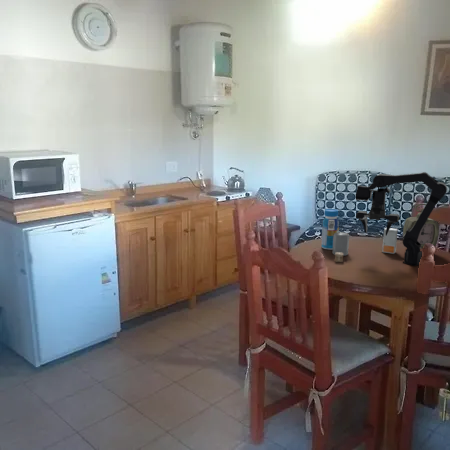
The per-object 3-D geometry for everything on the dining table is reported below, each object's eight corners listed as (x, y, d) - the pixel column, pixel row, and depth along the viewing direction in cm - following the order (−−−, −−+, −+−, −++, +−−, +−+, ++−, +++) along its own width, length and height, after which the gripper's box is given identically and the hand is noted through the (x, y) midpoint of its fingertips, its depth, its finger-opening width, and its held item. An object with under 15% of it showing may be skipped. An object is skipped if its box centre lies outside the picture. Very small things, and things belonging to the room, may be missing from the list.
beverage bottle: (317, 247, 240) (319, 209, 236) (327, 244, 245) (329, 207, 241) (331, 250, 234) (333, 212, 230) (341, 248, 239) (343, 210, 235)
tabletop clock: (407, 255, 226) (411, 205, 221) (399, 250, 235) (404, 201, 230) (436, 255, 227) (441, 205, 222) (427, 250, 236) (432, 201, 231)
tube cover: (350, 255, 226) (351, 235, 224) (337, 256, 225) (338, 236, 222) (343, 251, 233) (344, 232, 231) (330, 252, 231) (331, 232, 229)
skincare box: (381, 252, 231) (383, 229, 229) (383, 250, 235) (385, 227, 233) (394, 254, 229) (396, 230, 226) (395, 252, 232) (397, 228, 230)
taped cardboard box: (334, 259, 219) (335, 251, 218) (342, 260, 218) (343, 252, 217) (334, 261, 215) (335, 253, 214) (342, 262, 214) (343, 254, 214)
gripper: (354, 202, 212) (351, 235, 215) (396, 205, 203) (393, 240, 206) (359, 199, 221) (357, 230, 225) (400, 202, 213) (397, 235, 216)
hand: (376, 234), depth 218 cm, fingers open, 9 cm apart
